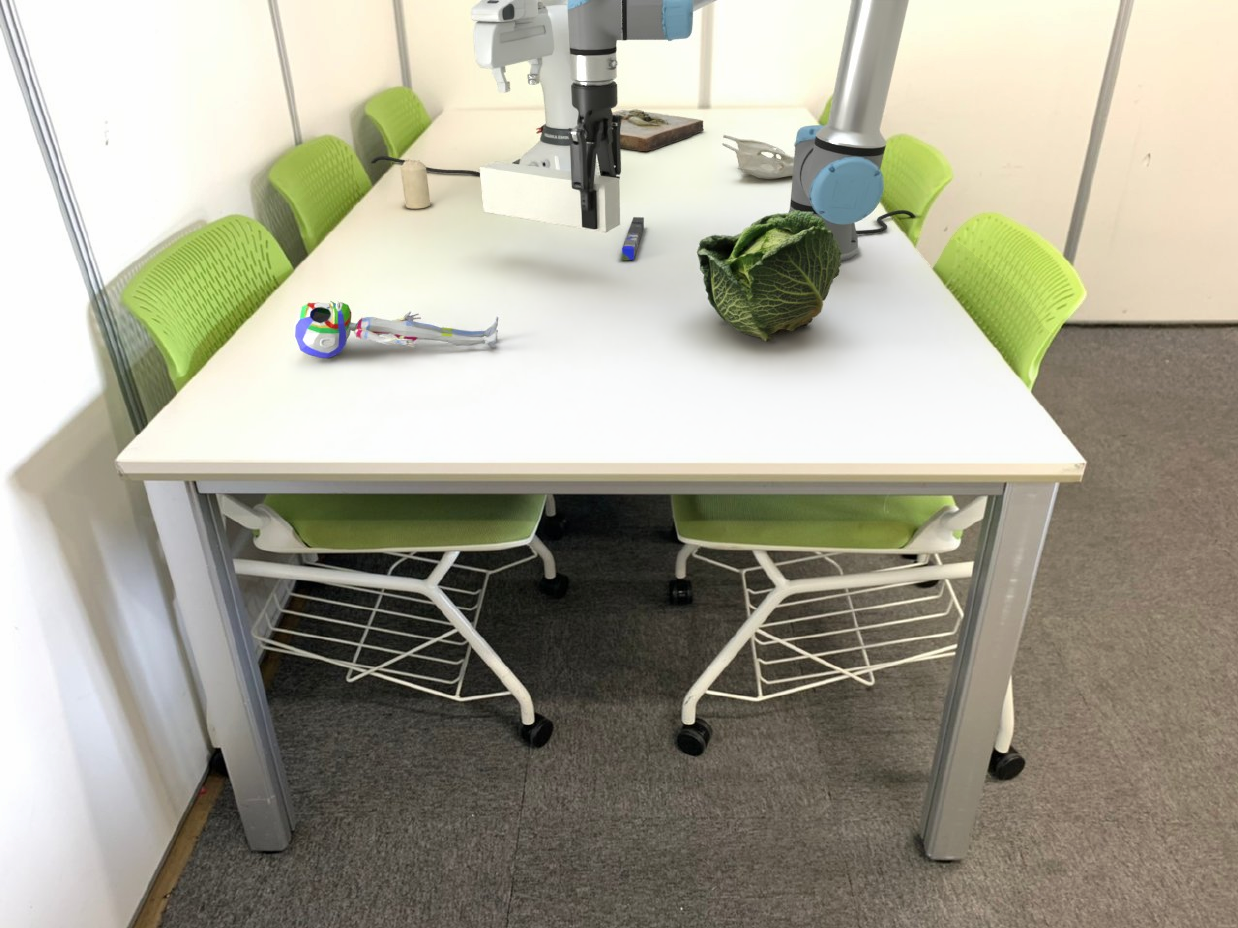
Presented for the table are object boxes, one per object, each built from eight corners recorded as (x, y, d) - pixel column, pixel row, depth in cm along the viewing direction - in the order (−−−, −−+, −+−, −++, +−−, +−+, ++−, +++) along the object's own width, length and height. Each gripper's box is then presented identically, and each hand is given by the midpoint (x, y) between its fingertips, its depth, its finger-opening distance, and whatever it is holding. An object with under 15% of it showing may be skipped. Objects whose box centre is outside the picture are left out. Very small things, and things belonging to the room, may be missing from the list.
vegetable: (729, 354, 150) (671, 251, 142) (822, 290, 151) (770, 184, 144) (780, 378, 132) (718, 261, 124) (885, 305, 133) (830, 185, 125)
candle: (435, 203, 204) (429, 158, 199) (422, 209, 200) (416, 164, 194) (413, 201, 206) (407, 156, 200) (401, 207, 201) (394, 162, 196)
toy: (498, 328, 132) (286, 311, 128) (494, 379, 137) (289, 364, 132) (499, 302, 141) (300, 285, 136) (495, 351, 145) (303, 336, 140)
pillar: (643, 217, 185) (633, 249, 169) (643, 227, 186) (633, 260, 170) (633, 217, 186) (621, 249, 169) (633, 227, 187) (622, 260, 170)
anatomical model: (724, 131, 223) (826, 130, 219) (723, 169, 228) (823, 168, 224) (720, 146, 210) (828, 145, 207) (720, 185, 215) (825, 185, 212)
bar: (483, 212, 166) (479, 167, 162) (499, 205, 170) (495, 161, 165) (605, 232, 155) (604, 185, 150) (620, 224, 158) (619, 178, 154)
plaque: (647, 125, 237) (559, 112, 252) (647, 153, 241) (560, 139, 256) (706, 107, 258) (622, 97, 273) (705, 133, 262) (622, 121, 277)
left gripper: (532, 0, 171) (537, 78, 178) (464, 11, 156) (472, 95, 163) (559, 1, 168) (563, 80, 175) (493, 12, 153) (500, 98, 160)
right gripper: (583, 92, 137) (589, 241, 149) (641, 74, 150) (641, 212, 162) (543, 88, 140) (551, 234, 153) (603, 71, 153) (606, 207, 166)
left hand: (519, 88), depth 169 cm, fingers open, 8 cm apart
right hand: (598, 223), depth 157 cm, fingers closed on bar, 5 cm apart
